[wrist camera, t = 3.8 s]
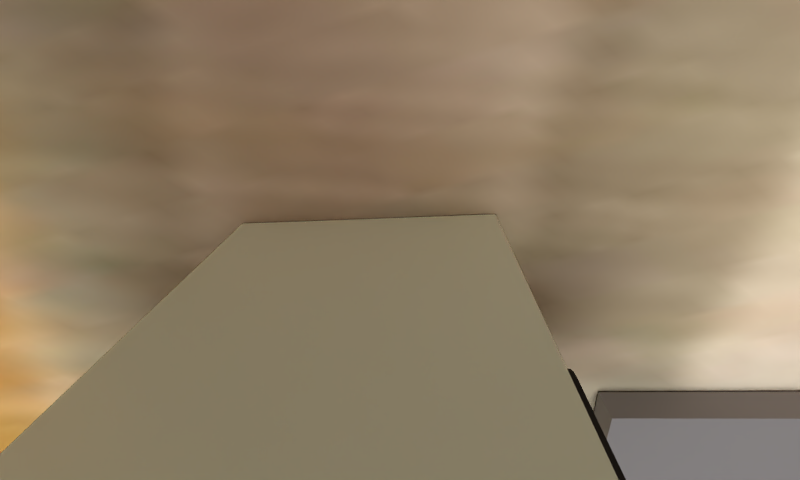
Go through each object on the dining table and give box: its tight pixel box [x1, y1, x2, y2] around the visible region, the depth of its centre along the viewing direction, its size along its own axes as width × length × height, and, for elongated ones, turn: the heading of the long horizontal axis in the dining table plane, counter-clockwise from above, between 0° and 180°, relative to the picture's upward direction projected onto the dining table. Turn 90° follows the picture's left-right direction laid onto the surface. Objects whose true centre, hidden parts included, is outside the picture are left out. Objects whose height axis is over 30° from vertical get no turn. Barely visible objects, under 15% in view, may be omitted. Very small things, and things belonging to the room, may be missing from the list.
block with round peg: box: [0, 214, 618, 480], centre depth 9 cm, size 10×7×7 cm
